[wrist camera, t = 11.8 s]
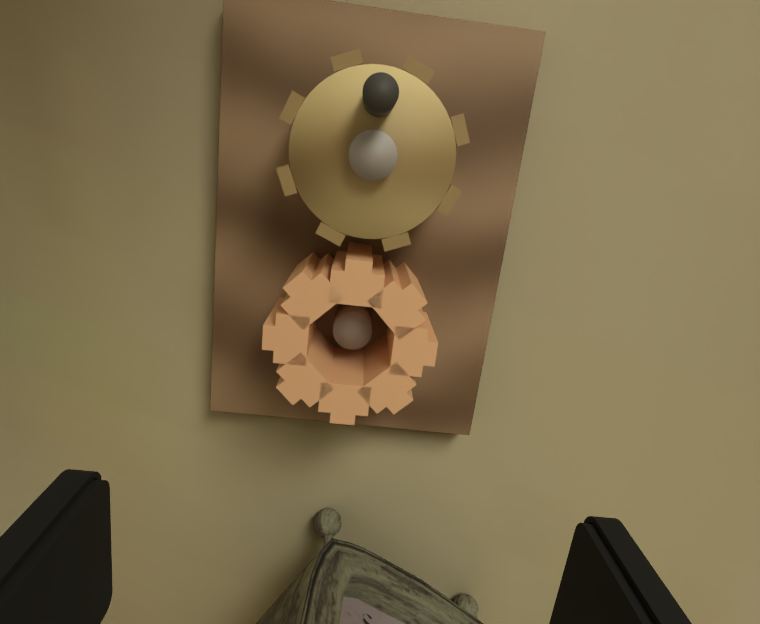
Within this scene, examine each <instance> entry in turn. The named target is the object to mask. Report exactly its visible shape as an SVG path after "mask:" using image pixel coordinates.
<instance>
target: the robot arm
mask: <svg viewBox="0 0 760 624" xmlns="http://www.w3.org/2000/svg"><path fill="white" fill-rule="evenodd" d="M111 597H112V559H111V521H110V487H109V483H108V481H106V480H101V475H100V473H98V472H93V471H82V470H71V469H68V470H65V471H63V472H62V473H61V474H60V475H59V476H58V477H57V478H56V479H55V480H54V481H53V482H52V483H51V485H50V486H49V487H48V488H47V489H46V490H45V491H44V492H43V493H42V494H41V495H40V496H39V497H38V498H37V499H36V500H35V501H34V502H33V503H32V504H31V506H30V507H29V508H28V509H27V510H26V511H25V512H24V513H23V514H22V515H21V516H20V517H19V518H18V519H17V520H16V521H15V522H14V523H13V524H12V525H11V526H10V528H9V529H8V530H7V531H6V532H5V533H4V534H3V535H2V536H1V537H0V624H100V623H101V621H102V620H103V618H104V616H105V614H106V612H107V610H108V608H109V605H110V601H111ZM549 624H692V623H691V622H690V621H689V619H688V618H687V616H686V615H685V613H684V612H683V610H682V609H681V608H680V606H679V605H678V603H677V602H676V600H675V599H674V598H673V596H672V595H671V593H670V592H669V590H668V589H667V587H666V586H665V585H664V583H663V582H662V580H661V579H660V577H659V576H658V574H657V573H656V572H655V570H654V569H653V567H652V566H651V564H650V563H649V561H648V560H647V559H646V557H645V556H644V554H643V553H642V551H641V550H640V548H639V547H638V546H637V544H636V543H635V541H634V540H633V538H632V537H631V536H630V534H629V533H628V531H627V530H626V528H625V527H624V525H623V524H622V523H621V522H620V521H619V520H618V519H615V518H604V517H593V516H589V517H587V518H586V519H585V521H584V523H579V524H578V525H577V526H576V529H575V532H574V536H573V540H572V543H571V547H570V551H569V554H568V558H567V561H566V565H565V569H564V572H563V576H562V580H561V583H560V587H559V590H558V594H557V598H556V601H555V605H554V609H553V612H552V616H551V620H550V623H549Z"/></svg>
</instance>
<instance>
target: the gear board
mask: <svg viewBox="0 0 760 624" xmlns="http://www.w3.org/2000/svg"><path fill="white" fill-rule="evenodd" d="M545 33H546V32H544V31H537V30H530V29H523V28H516V27H509V26H502V25H495V24H488V23H481V22H474V21H467V20H460V19H453V18H446V17H439V16H432V15H425V14H418V13H411V12H404V11H397V10H390V9H383V8H376V7H369V6H362V5H355V4H348V3H341V2H334V1H327V0H224V3H223V33H222V64H221V95H220V125H219V156H218V187H217V217H216V248H215V279H214V309H213V340H212V371H211V401H210V410H212V411H222V412H232V413H243V414H253V415H264V416H274V417H285V418H295V419H306V420H316V421H327V422H330V414H331V413H327V412H318V407H319V401H318V402H316V403H315V404H314V405H312V406H311V407H309V406H308V405H307V404H306V403H305V402H304V401H303V400H302V399H300V400H299V401H298V402H296V403H295V404H294V405H292V404H291V403H290V402H289V401H288V400H287V399H286V398H285V397H284V396H283V394H282V393H281V392H280V391H279V390H278V389H277V388H276V386H277V383H278V381H279V378H280V375H279V374H278V373H277V372H276V370H277V368H278V366H279V363H273V353H274V351H271V350H262V336H263V324H264V323H265V321H266V319H267V318H268V316H269V314H270V313H271V311H272V310H273V308H274V306H275V305H276V303H277V301H278V300H279V298H280V297H284V298H285V296H286V294H287V293H286V291H285V290H284V289H283V286H284V285H285V283H286V281H287V280H288V278H289V277H290V275H291V273H292V272H293V270H294V269H295V267H296V266H297V265H298V264H299V263H300V262H302V261H303V260H304V259H305V258H307V257H308V256H309V255H310V254H311V253H313V252H314V253H315V254H316V255H317V257H318V258H319V259H322V258H323V257H324V256H325V255H327V254H328V253H329V254H330V255H331V256H332V257H333V259H335V255H336V252H337V251H346V252H347V250H348V245H349V242H357V243H366V244H372V254H373V255H382V260H383V264H384V263H385V262H387V261H388V260H390V261H391V262H392V264H393V265H394V266H395V267H396V268H397V267H398V266H399V265H401V264H402V263H403V262H405V264H406V265H407V266H408V267H409V269H410V270H411V271H412V273H413V274H414V275H415V276H416V278H417V279H418V281H419V284H420V286H421V288H422V291H423V293H424V295H425V298H426V300H427V304H426V305H425V306H423V307H422V310H423V312H427V315H428V317H429V320H430V323H431V325H432V328H433V330H434V333H435V335H436V338H437V341H438V348H437V354H436V361H435V367H433V366H423V370H422V376H421V377H415V380H416V386H414V387H413V388H412V389H411V390H412V396H413V401H412V402H411V403H409V404H408V405H406V406H405V407H404V408H402V409H401V410H399V411H398V412H397V413H395V414H393V413H392V412H391V411H390V410H389V409H388V408H387V407H386V408H384V409H383V410H382V411H380V412H379V413H376V412H375V411H374V410H373V409H372V408H371V407H370V405H369V411H368V416H359V415H355V424H358V425H369V426H379V427H389V428H400V429H410V430H421V431H431V432H442V433H452V434H463V435H469V434H470V429H471V424H472V418H473V413H474V408H475V403H476V397H477V392H478V387H479V381H480V376H481V371H482V366H483V360H484V355H485V350H486V345H487V339H488V334H489V329H490V323H491V318H492V313H493V308H494V302H495V297H496V292H497V286H498V281H499V276H500V271H501V265H502V260H503V255H504V249H505V244H506V239H507V234H508V228H509V223H510V218H511V213H512V207H513V202H514V197H515V191H516V186H517V181H518V176H519V170H520V165H521V160H522V154H523V149H524V144H525V139H526V133H527V128H528V123H529V118H530V112H531V107H532V102H533V96H534V91H535V86H536V81H537V75H538V70H539V65H540V59H541V54H542V49H543V44H544V38H545ZM316 326H317V327H318V328H319V330H320V331H321V332H322V333H323V334H324V335H325V336H326V338H327V339H328V340H329V341H330V342H331V343H332V344H333V345H334V347H340V348H347V349H360V350H364V349H365V348H367V347H368V346H369V345H371V344H372V343H373V342H375V341H376V340H377V339H379V338H380V337H381V336H383V335H384V334H385V333H386V331H387V324H386V323H385V322H384V321H383V319H382V318H381V317H380V316H379V315H378V313H377V312H376V311H375V310H374V309H373V307H364V306H354V305H345V304H336V305H334V306H333V307H332V308H330V309H329V310H328V311H327V312H325V313H324V314H323V315H321V316H320V317H319V318H318V319H317V320H316Z"/></svg>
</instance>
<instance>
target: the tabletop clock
mask: <svg viewBox="0 0 760 624" xmlns="http://www.w3.org/2000/svg"><path fill="white" fill-rule="evenodd" d="M314 526H315V531H316V532H317V533H318V534H319V535H320V536H322V537H324V547H323V549H322V550H321V551H320V552H319V553H318V554H317V555H316V556H315V558H314V559H313V560H312V561H311V562H310V563H309V564H308V565H307V567H306V568H305V569H304V570H303V571H302V572H301V573H300V575H299V576H298V577H297V578H296V579H295V580H294V581H293V582H292V584H291V585H290V586H289V587H288V588H287V589H286V590H285V591H284V593H283V594H282V595H281V596H280V597H279V598H278V599H277V600H276V602H275V603H274V604H273V605H272V606H271V607H270V608H269V609H268V611H267V612H266V613H265V614H264V615H263V616H262V617H261V618H260V620H259V621H258V622H257V623H256V624H483V623H482V622H480V621H479V620H478V619H477V614H478V604H477V602H476V601H475V599H474V598H473V597H472V596H470V595H467V594H461V595H459V596H458V597H456V598H455V600H454V602H453V601H451V600H450V599H448V598H447V597H446V596H444V595H443V594H441V593H440V592H438V591H437V590H435V589H434V588H432V587H431V586H430V585H428V584H427V583H425V582H424V581H422V580H421V579H419V578H417V577H415V576H414V575H412V574H410V573H408V572H406V571H405V570H403V569H401V568H399V567H397V566H396V565H394V564H392V563H390V562H388V561H387V560H385V559H383V558H381V557H379V556H378V555H376V554H374V553H372V552H370V551H368V550H366V549H364V548H362V547H359V546H357V545H354V544H352V543H349V542H344V541H340V540H336V539H333V536H334V535H336V534H337V533H338V532H339V530H340V528H341V518H340V515H339V513H338V512H337V511H336V510H334V509H331V508H325V509H322V510H321V511H320V512H318V513H317V514H316V516H315V518H314Z"/></svg>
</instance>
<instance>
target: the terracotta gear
mask: <svg viewBox="0 0 760 624" xmlns="http://www.w3.org/2000/svg"><path fill="white" fill-rule="evenodd" d="M283 289H284V290H285V291H286V293H287V294H286V296H285V298H284V297H280V298H279V300H278V301H277V303H276V305H275V306H274V308H273V310H272V311H271V313H270V314H269V316H268V318H267V319H266V321H265V323H264V324H263V336H262V350H271V351H274V353H273V363H279V366H278V368H277V370H276V372H277V373H278V374H279V375H280V378H279V381H278V383H277V386H276V388H277V389H278V390H279V391H280V392H281V393H282V394H283V396H284V397H285V398H286V399H287V400H288V401H289V402H290V403H291V404H292V405H294V404H295V403H296V402H298V401H299V400H300V399H302V400H303V401H304V402H305V403H306V404H307V405H308V406H309V407H311V406H312V405H314V404H315V403H316V402H318V401H319V407H318V412H327V413H331V414H330V423H335V424H346V425H354V424H355V415H359V416H368V411H369V405H370V407H371V408H372V409H373V410H374V411H375V412H376V413H379V412H380V411H382V410H383V409H384V408H386V407H387V408H388V409H389V410H390V411H391V412H392V413H393V414H395V413H397V412H398V411H399V410H401V409H402V408H404V407H405V406H406V405H408V404H409V403H411V402H412V401H413V396H412V390H411V389H412V388H413V387H414V386H416V380H415V377H421V376H422V370H423V366H433V367H435V361H436V354H437V348H438V341H437V338H436V335H435V333H434V330H433V328H432V325H431V323H430V320H429V317H428V315H427V312H423V310H422V307H423V306H425V305H426V304H427V300H426V298H425V295H424V293H423V291H422V288H421V286H420V284H419V281H418V279H417V278H416V276H415V275H414V274H413V273H412V271H411V270H410V269H409V267H408V266H407V265H406V264H405V262H403V263H402V264H401V265H399V266H398V267H397V268H396V267H395V266H394V265H393V264H392V262H391V261H390V260H388V261H387V262H385V263H384V264H383V260H382V255H373V254H372V244H366V243H357V242H349V245H348V250H347V252H346V251H337V252H336V255H335V259H333V257H332V256H331V255H330V254H329V253H328V254H327V255H325V256H324V257H323V258H322V259H319V258H318V257H317V255H316V254H315V253H314V252H313V253H311V254H310V255H309V256H308V257H307V258H305V259H304V260H303V261H302V262H300V263H299V264H298V265H297V266H296V267H295V269H294V270H293V272H292V273H291V275H290V277H289V278H288V280H287V281H286V283H285V285H284V286H283ZM336 304H345V305H354V306H364V307H373V309H374V310H375V311H376V312H377V313H378V315H379V316H380V317H381V318H382V319H383V321H384V322H385V323H386V324H387V331H386V333H385V334H384V335H383V336H381V337H380V338H379V339H377V340H376V341H375V342H373V343H372V344H371V345H369V346H368V347H367V348H365V349H364V350H360V349H347V348H340V347H334V345H333V344H332V343H331V342H330V341H329V340H328V339H327V338H326V336H325V335H324V334H323V333H322V332H321V331H320V330H319V328H318V327H317V326H316V320H317V319H318V318H319V317H320V316H321V315H323V314H324V313H325V312H327V311H328V310H329V309H330V308H332V307H333V306H334V305H336Z"/></svg>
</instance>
